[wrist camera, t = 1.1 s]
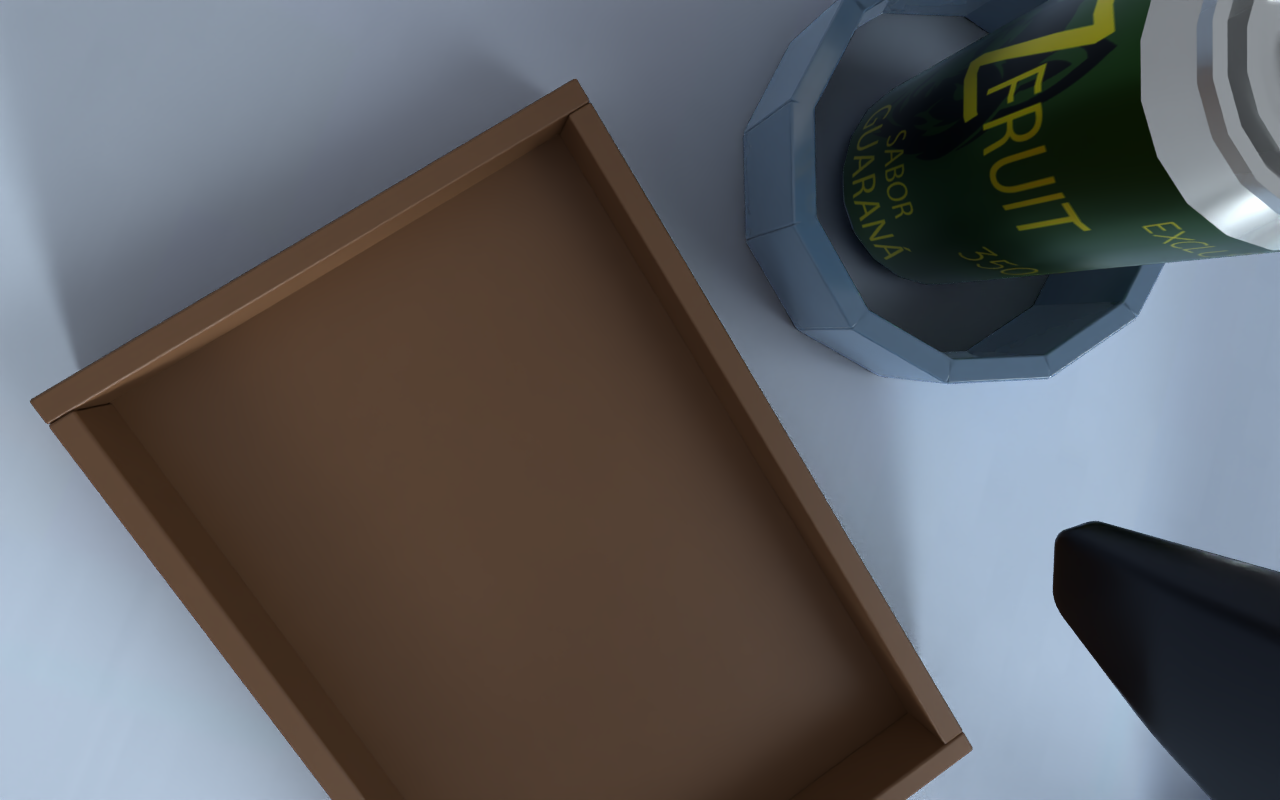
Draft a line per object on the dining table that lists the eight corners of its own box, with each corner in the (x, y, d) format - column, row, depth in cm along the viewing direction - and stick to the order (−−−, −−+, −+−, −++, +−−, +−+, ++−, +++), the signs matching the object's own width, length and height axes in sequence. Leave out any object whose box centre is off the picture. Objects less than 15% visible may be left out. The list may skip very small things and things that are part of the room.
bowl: (1147, 251, 25) (1252, 239, 22) (862, 445, 24) (927, 464, 21) (986, -78, 24) (1073, -146, 20) (671, 113, 22) (707, 74, 19)
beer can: (995, 69, 24) (1500, -182, 12) (1027, 264, 25) (1537, 204, 13) (813, 104, 23) (1168, -130, 11) (851, 305, 24) (1225, 281, 12)
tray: (923, 707, 25) (974, 749, 23) (531, 994, 24) (538, 1075, 21) (564, 106, 22) (575, 76, 19) (82, 391, 20) (27, 400, 18)
